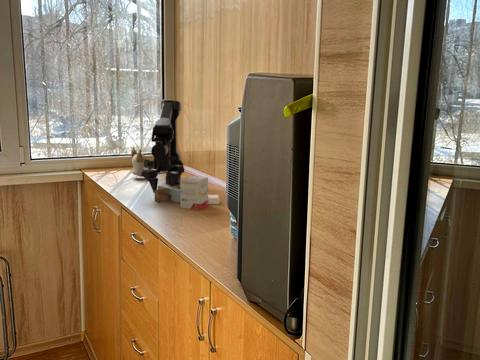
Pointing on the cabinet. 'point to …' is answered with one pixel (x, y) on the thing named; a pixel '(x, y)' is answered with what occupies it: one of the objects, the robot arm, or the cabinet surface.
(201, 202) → the ink box
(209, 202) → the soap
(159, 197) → the brown boxy piece
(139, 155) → the ceramic sculpture
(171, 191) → the light blue block
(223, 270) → the cabinet surface
